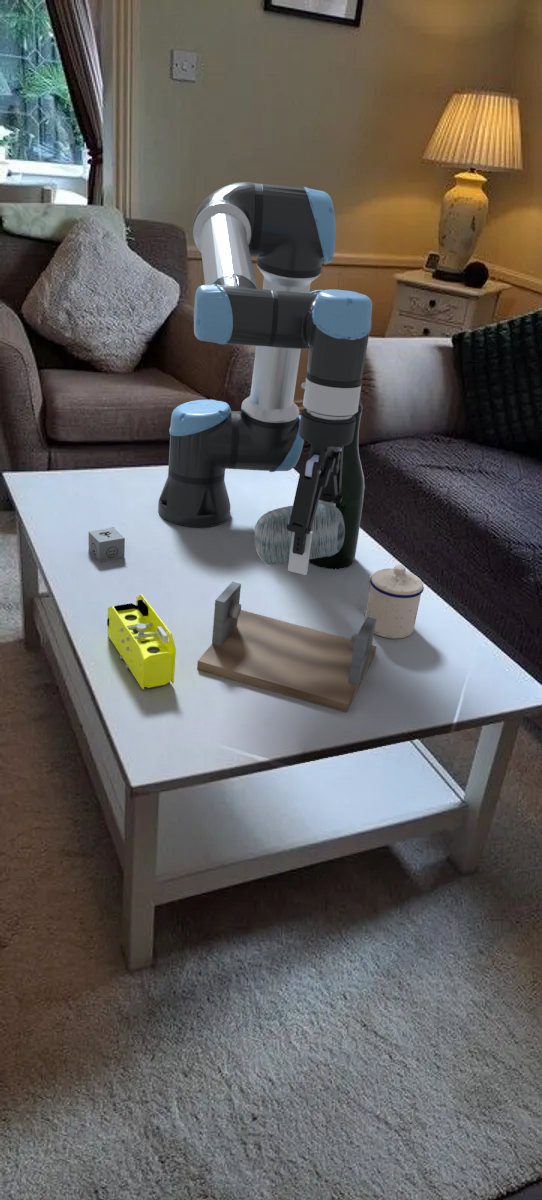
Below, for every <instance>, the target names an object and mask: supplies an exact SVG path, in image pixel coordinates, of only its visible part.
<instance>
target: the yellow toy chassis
mask: <svg viewBox="0 0 542 1200" xmlns="http://www.w3.org/2000/svg"><path fill="white" fill-rule="evenodd" d="M135 600H136V601H135V602H136V603H135V604H134V603H124V604H119V605H118V604H117V605H114V606H113V605H112V606H109V607H107V620H106V623H107V624H106V625H107V636H108V637H109V640H110V641H111V642H112V644H113V646H114V647H115V648H116V651H117V652H118V654H119V659H121V660H123V661H124V663H125V669H129V671H130V672H131V674H132V676H133V677H134V678H135V680H136V681H137V683H138V685H139V687H140V688H141V690H145V688H148V689H150V688H155V687H159V686H165V685H167V684H168V683H170V682H171V683H172V684H175V670H176V669H175V668H176V655H177V654H176V653H177V652H176V651H177V648H176V644H175V641H174V638H173V634H172V632H171V631H170V630H169V628H168V627H167V625H166V624H165V623H164V622H163V620H162V619H161V617H160V615H158V613H157V612H156V611H155V609H154V608H153V607H152V606H151V604H150V603H149V602H148V601H147V599H146V598H145V596H144V595H143V594H140V595H138V596H136V599H135Z"/></svg>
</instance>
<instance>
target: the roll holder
mask: <svg viewBox="0 0 542 1200" xmlns="http://www.w3.org/2000/svg"><path fill="white" fill-rule="evenodd" d="M241 589H242V583H240V582H235V581H231V582H230V584H229V585H228V586H227V587H226V588H225V589H224V590H223V591H222V592H221V594H219V595H218V597H217V598H215V602H214V614H213V626H212V635H211V637H212V638H211V639H212V640H211V644H210V645H209V646H208V648H207V649H206V651H204V653H203V654H202V655H201V656H200V657H199V659H197V664H196V665H197V667H196V669H197V670H199V671H203V672H206V673H209V674H212V675H213V674H214V675H217V676H220V677H223V678H227V679H231V680H234V681H238V682H241V683H244V684H247V685H251V686H254V687H258V688H261V689H265V690H268V691H272V692H276V693H279V694H282V695H285V696H289V697H293V698H295V699H296V698H297V699H299V700H302V701H305V702H309V703H313V704H316V705H320V706H323V707H327V708H330V709H334V710H336V711H341V712H344V713H347V712H348V710H349V708H350V706H351V704H352V702H353V700H354V699H355V696H356V694H357V692H358V690H359V688H360V686H361V684H362V682H363V679H364V678H365V675H366V673H367V671H368V670H369V668H370V665H371V663H372V661H373V660H374V657H375V655H376V652H377V645H374V644H373V641H374V635H375V634H374V631H375V625H376V620H377V619H374V618H370V617H367V618H366V620H365V619H364V622H363V624H362V626H361V627H360V629H359V631H358V633H357V634H352V635H351V636H350V638H347V637H344V636H341V635H336V634H333V633H329V632H325V631H321V630H319V629H314V628H310V627H307V626H303V625H300V624H295V623H291V622H288V621H285V620H280V619H277V618H274V617H269V616H265V615H261V614H258V613H254V612H251V611H247V610H243V609H242V604H240V598H241V597H240V596H241Z"/></svg>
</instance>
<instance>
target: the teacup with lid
mask: <svg viewBox="0 0 542 1200" xmlns="http://www.w3.org/2000/svg"><path fill="white" fill-rule="evenodd" d="M367 585H368V586H367V587H368V588H367V589H368V598H367V599H368V600H367V604H366V611H365V616H364V621H365V620H366V618H367V617H370V618H374V619H377V620H376V625H375V631H374V635H376V636H379V637H381V638H385V639H392V640H393V639H404V638H407V637H409V636H411V634H413V632H414V630H415V625H416V621H417V620H416V619H417V615H418V611H419V606H420V600H421V596H422V593H424V592H423V591H424V590H425V589H424V588H425V587H424V583H423V581H422V580H421V578H420V577H418V576H417V575H416V574H414V573H412V572H410V571H407V569H406V567H405V566H404V565H401V564H400V565H399V564H398V565H395V566H394V567H393V568H383V569H379V570H377V571H375V572H374V573H373V574H371V576H370V577H369V579H368V584H367Z"/></svg>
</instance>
